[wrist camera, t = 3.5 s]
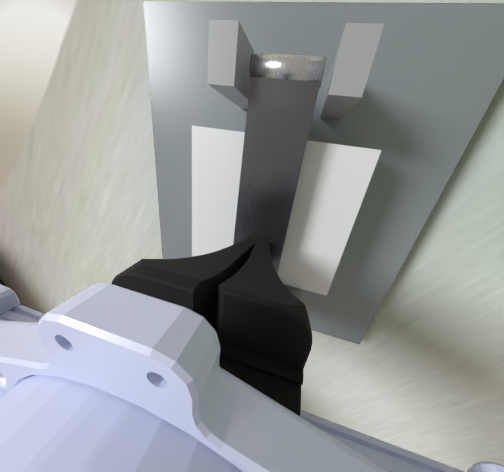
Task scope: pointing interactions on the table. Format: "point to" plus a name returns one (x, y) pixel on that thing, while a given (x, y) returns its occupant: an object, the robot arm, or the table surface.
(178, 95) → the board
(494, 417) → the table surface
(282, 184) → the clamp bar
